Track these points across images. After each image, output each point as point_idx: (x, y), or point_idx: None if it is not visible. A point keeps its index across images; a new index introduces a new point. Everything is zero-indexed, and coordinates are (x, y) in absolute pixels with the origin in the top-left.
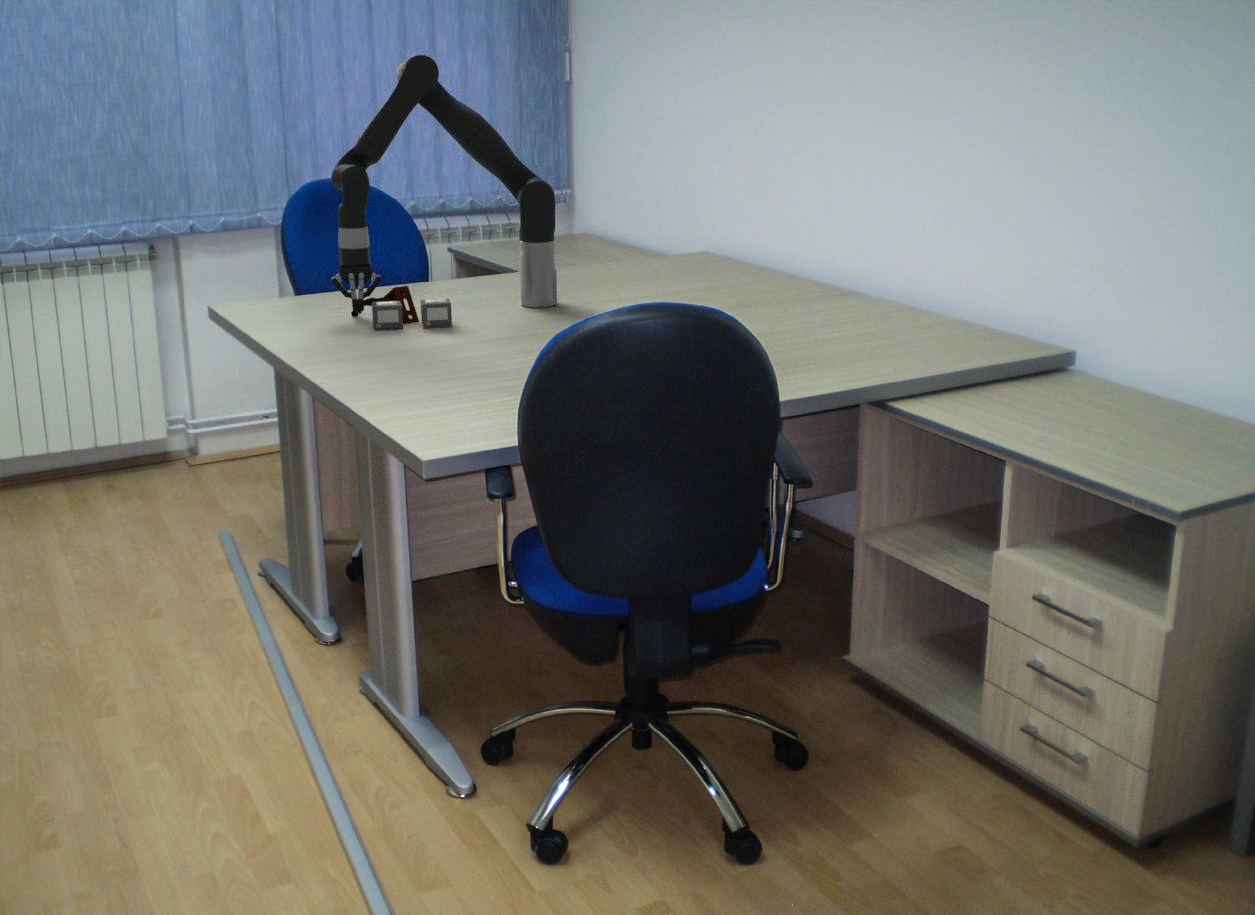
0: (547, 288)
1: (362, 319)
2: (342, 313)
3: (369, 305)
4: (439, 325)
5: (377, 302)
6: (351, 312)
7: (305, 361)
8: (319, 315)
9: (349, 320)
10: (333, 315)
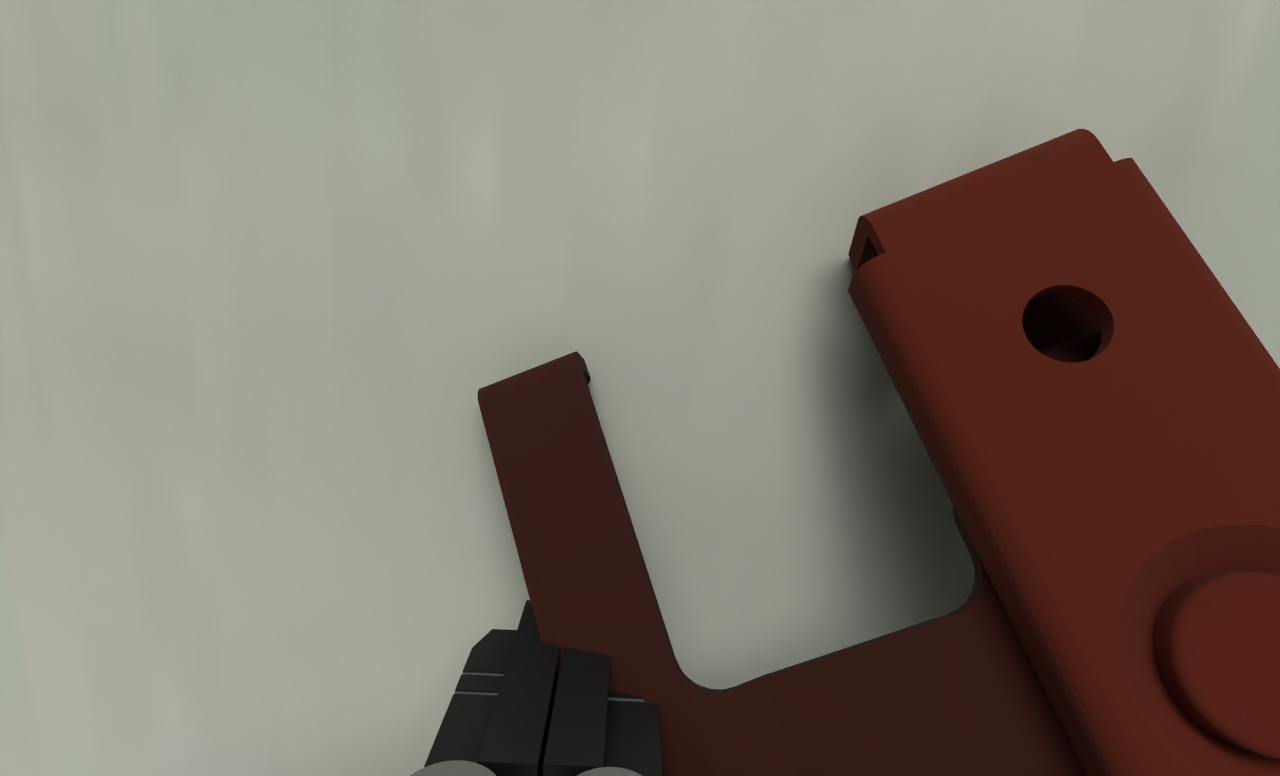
0: None
1: None
2: (364, 127)
3: (756, 706)
4: None
5: None
6: (481, 404)
7: None
8: (19, 175)
9: (457, 621)
10: (233, 240)
